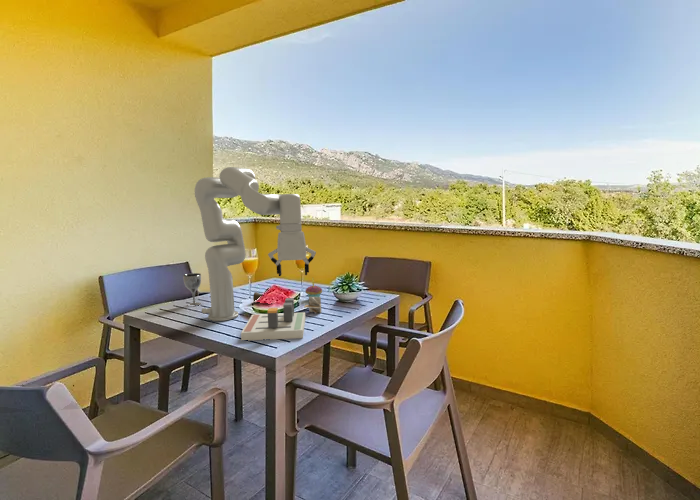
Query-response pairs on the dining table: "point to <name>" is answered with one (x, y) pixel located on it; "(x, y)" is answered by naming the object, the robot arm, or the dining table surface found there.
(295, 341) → the dining table surface
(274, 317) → the grey upright block
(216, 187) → the robot arm
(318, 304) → the architectural model
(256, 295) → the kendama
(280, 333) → the switch panel
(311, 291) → the cupcake
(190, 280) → the wine glass
